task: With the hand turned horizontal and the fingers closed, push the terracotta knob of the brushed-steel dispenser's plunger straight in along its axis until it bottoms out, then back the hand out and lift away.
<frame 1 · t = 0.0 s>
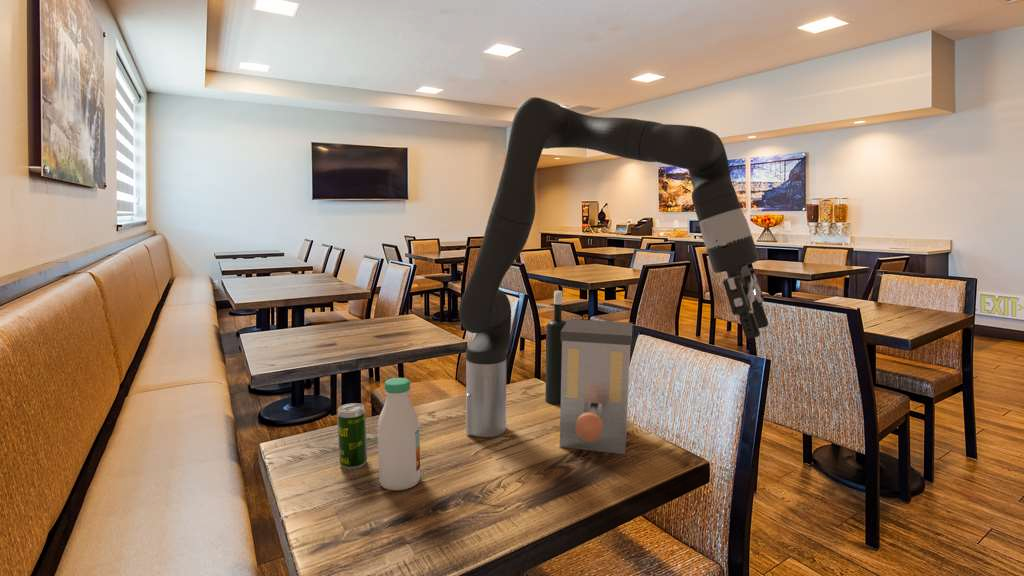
hand: (758, 332, 91), 31 cm above the table, tool tilted 20°, fingers open, 8 cm apart
milk bottle: (399, 482, 103), on the table
dispenser: (594, 438, 122), on the table
beer can: (353, 464, 110), on the table
plunger: (591, 415, 113), point 9 cm above the table, slide at 0.0 cm
wine bottle: (556, 401, 146), on the table
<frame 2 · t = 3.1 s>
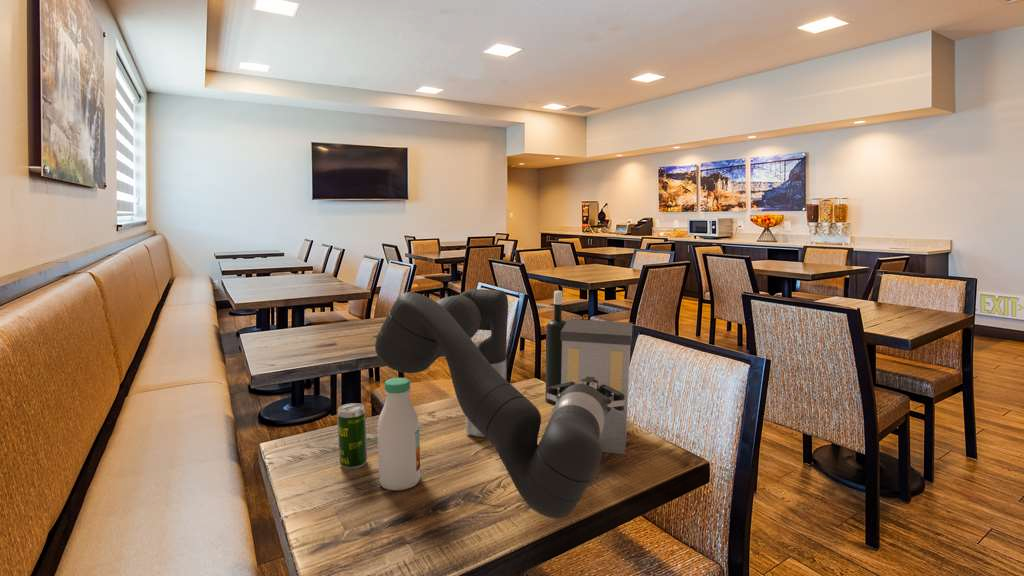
hand: (590, 382, 94), 22 cm above the table, tool horizontal, fingers closed
nothing on the table moved.
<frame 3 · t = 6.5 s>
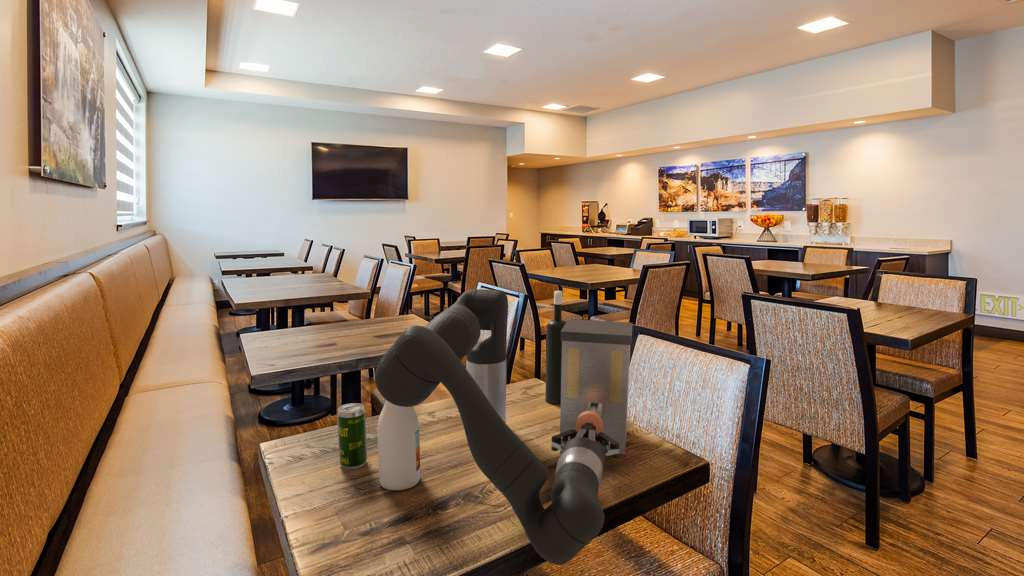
hand: (589, 427, 107), 9 cm above the table, tool horizontal, fingers closed
plunger: (592, 413, 114), point 9 cm above the table, slide at 0.8 cm, touching gripper
everything else where it was.
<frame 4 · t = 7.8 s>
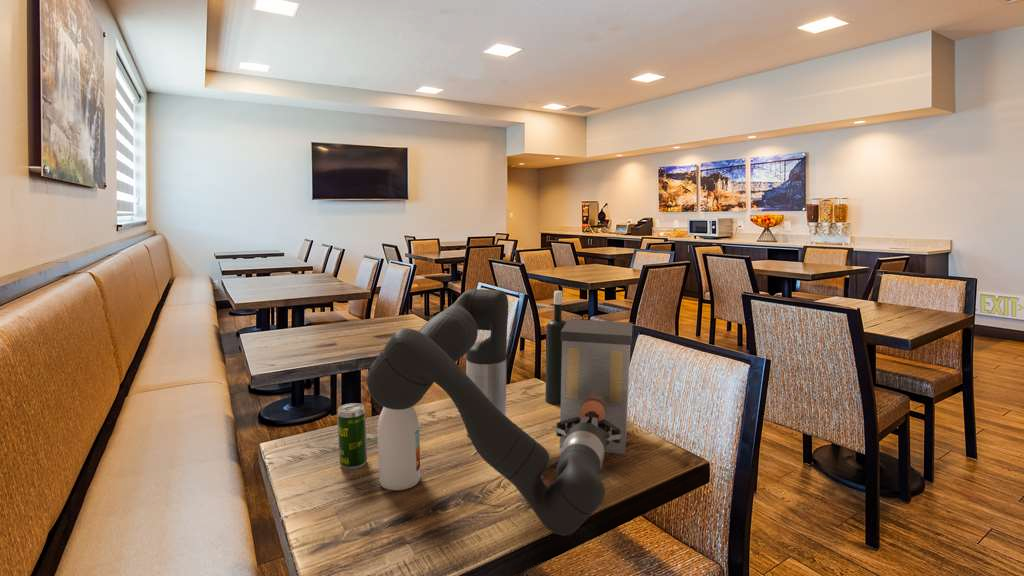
hand: (592, 415, 113), 9 cm above the table, tool horizontal, fingers closed
plunger: (594, 403, 120), point 9 cm above the table, slide at 7.1 cm, touching gripper
everything else where it was.
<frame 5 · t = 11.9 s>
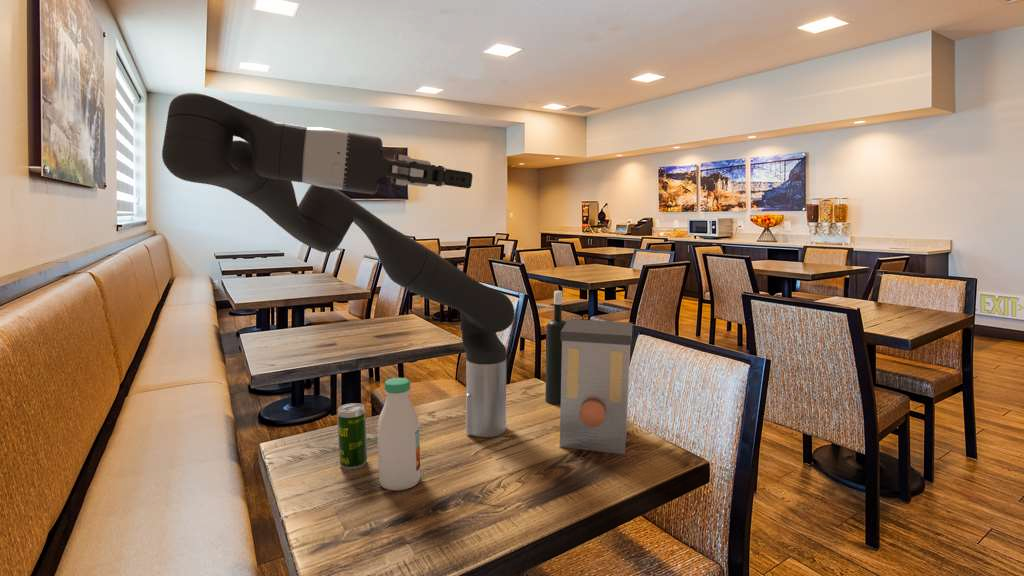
hand: (470, 180, 76), 56 cm above the table, tool horizontal, fingers closed
plunger: (594, 403, 119), point 9 cm above the table, slide at 7.0 cm
everything else where it was.
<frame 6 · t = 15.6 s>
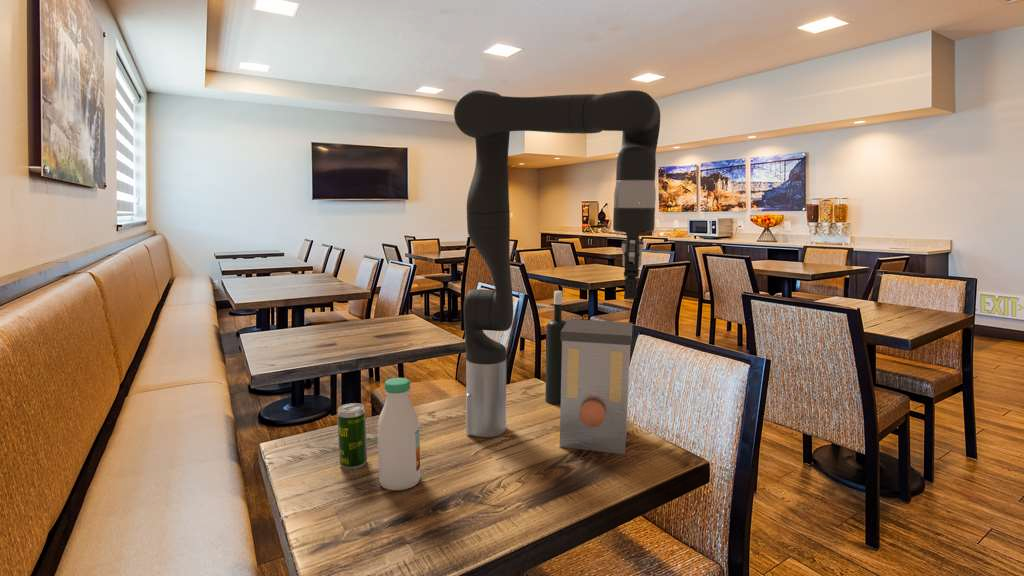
hand: (630, 297, 103), 35 cm above the table, tool pointing down, fingers closed
nothing on the table moved.
at the end: plunger slide at 7.0 cm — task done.
